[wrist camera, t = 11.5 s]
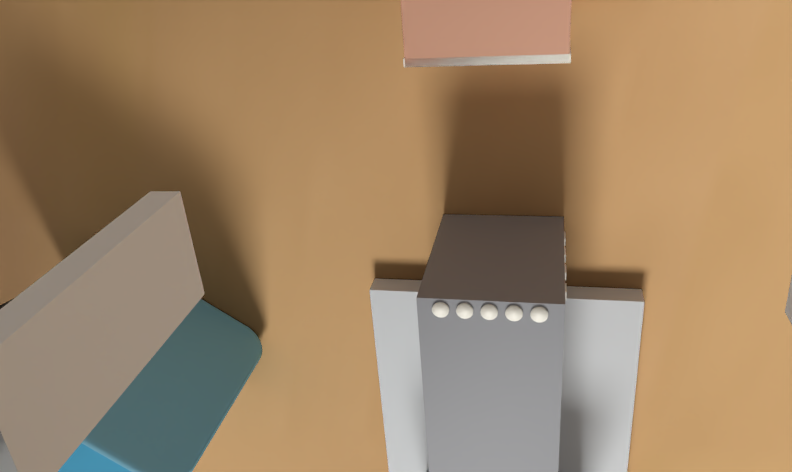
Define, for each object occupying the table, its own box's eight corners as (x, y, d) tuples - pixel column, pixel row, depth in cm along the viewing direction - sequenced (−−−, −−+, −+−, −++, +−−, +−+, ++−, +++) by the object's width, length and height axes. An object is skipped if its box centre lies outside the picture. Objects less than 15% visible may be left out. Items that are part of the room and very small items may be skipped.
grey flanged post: (400, 531, 48) (367, 672, 39) (367, 212, 37) (312, 314, 29) (615, 556, 45) (628, 715, 36) (648, 218, 34) (678, 333, 26)
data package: (75, 285, 43) (-77, 418, 33) (96, 233, 41) (-60, 357, 31) (242, 384, 44) (146, 543, 34) (272, 339, 42) (178, 494, 32)
